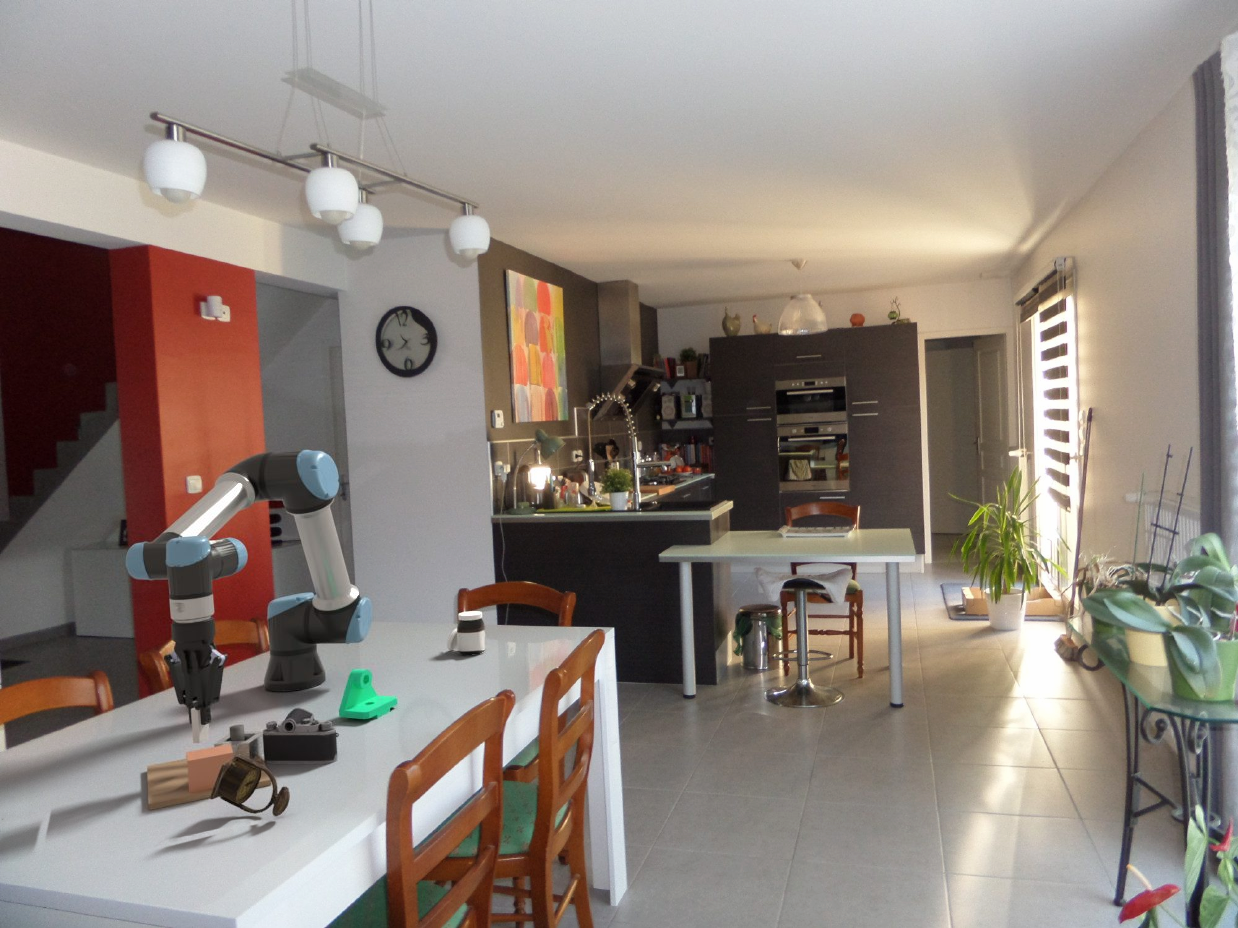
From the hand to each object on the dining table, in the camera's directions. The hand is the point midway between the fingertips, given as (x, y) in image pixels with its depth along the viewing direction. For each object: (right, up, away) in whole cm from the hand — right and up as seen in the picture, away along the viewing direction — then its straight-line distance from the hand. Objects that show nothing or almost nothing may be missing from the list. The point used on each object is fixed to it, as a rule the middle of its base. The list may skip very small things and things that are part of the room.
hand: (201, 740), depth 174 cm
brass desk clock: (+18, -7, -19) cm, 27 cm away
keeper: (+5, -6, -8) cm, 11 cm away
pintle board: (+2, -7, -2) cm, 7 cm away
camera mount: (+23, -5, +34) cm, 42 cm away
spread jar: (+36, -2, +90) cm, 97 cm away
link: (+5, -5, +1) cm, 7 cm away
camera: (+17, -6, +8) cm, 20 cm away
